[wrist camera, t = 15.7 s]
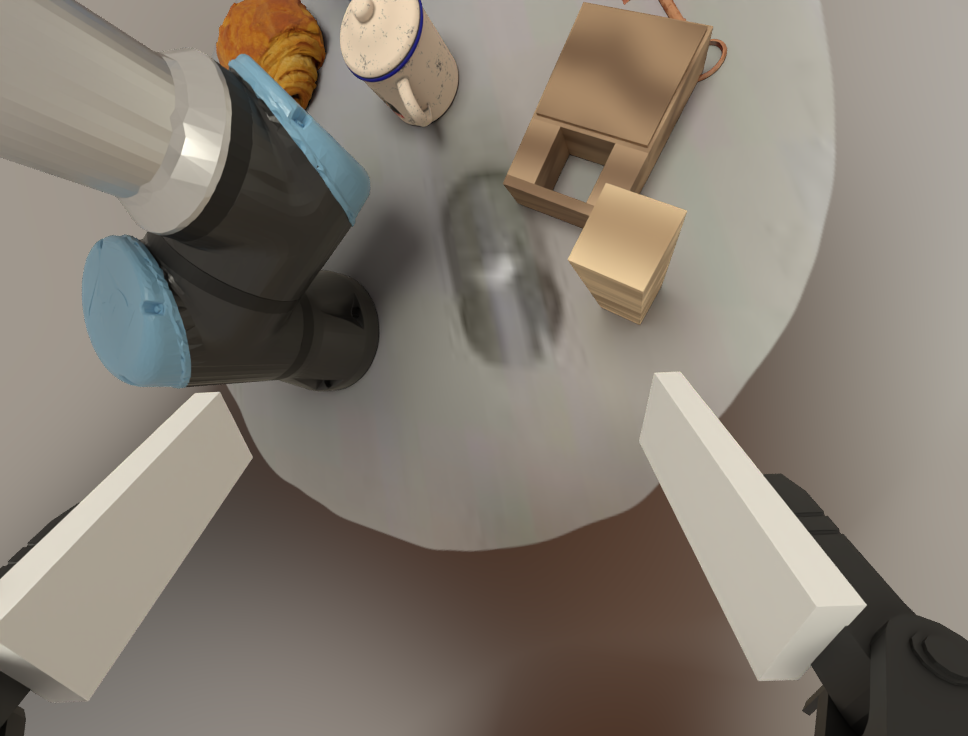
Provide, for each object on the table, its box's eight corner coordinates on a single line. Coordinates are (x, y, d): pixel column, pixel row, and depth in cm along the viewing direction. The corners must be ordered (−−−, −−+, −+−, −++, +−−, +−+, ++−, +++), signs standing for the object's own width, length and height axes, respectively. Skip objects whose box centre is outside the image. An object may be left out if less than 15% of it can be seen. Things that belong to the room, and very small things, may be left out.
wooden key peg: (639, 325, 37) (642, 291, 19) (601, 307, 38) (567, 259, 20) (661, 286, 36) (687, 210, 18) (621, 269, 38) (606, 182, 19)
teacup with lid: (383, 76, 47) (307, -9, 36) (448, 29, 44) (385, -79, 33) (411, 166, 46) (341, 106, 35) (479, 125, 43) (425, 46, 32)
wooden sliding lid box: (615, 240, 38) (612, 222, 33) (518, 203, 41) (501, 181, 36) (703, 70, 35) (714, 22, 30) (590, 45, 38) (582, -3, 33)
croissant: (292, 153, 55) (242, 129, 48) (233, 67, 56) (174, 31, 49) (358, 70, 51) (314, 30, 43) (292, -22, 51) (238, -78, 44)
